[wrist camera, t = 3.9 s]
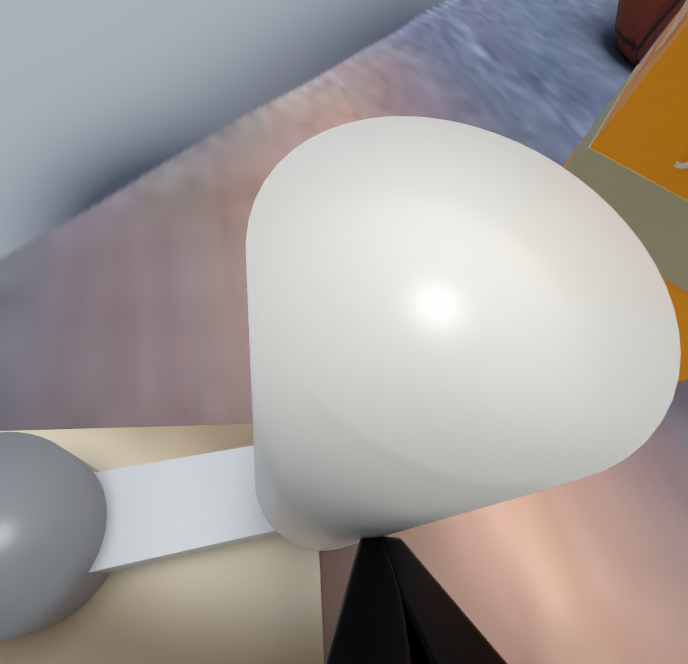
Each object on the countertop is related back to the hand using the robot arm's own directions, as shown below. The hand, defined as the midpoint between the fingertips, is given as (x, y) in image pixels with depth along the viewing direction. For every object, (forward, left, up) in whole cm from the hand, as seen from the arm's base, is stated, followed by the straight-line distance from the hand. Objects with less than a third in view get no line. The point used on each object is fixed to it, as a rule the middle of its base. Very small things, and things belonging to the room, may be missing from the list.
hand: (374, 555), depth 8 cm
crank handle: (+1, +8, -6) cm, 10 cm away
